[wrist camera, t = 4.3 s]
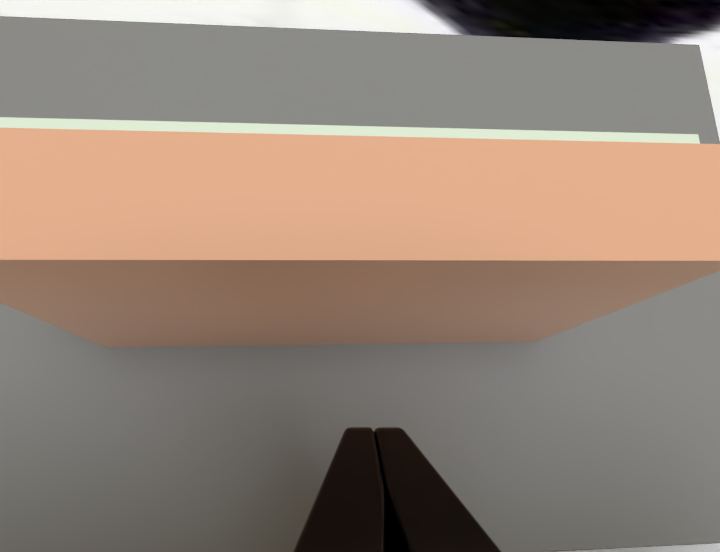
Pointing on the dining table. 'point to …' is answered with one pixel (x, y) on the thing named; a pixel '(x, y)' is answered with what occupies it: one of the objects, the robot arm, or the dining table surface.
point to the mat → (360, 361)
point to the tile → (344, 230)
